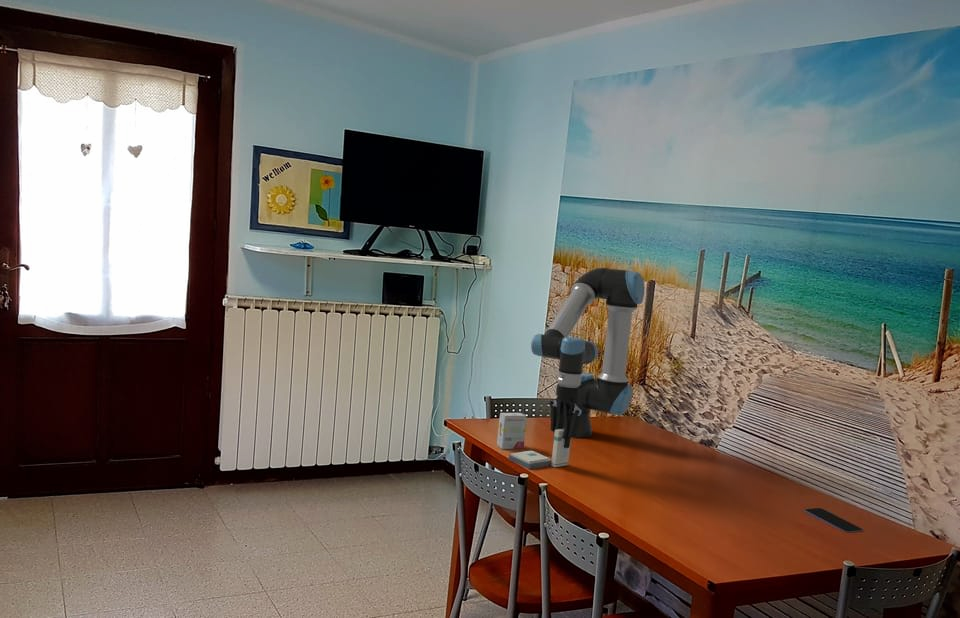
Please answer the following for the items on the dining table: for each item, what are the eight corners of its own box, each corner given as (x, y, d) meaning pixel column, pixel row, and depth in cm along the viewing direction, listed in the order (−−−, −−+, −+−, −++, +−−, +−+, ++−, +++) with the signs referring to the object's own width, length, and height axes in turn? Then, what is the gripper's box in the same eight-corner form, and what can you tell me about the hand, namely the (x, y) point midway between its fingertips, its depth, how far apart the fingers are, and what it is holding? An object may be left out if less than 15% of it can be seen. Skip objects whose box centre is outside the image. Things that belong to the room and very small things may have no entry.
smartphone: (846, 532, 196) (803, 509, 209) (845, 535, 196) (802, 512, 209) (864, 529, 199) (820, 507, 212) (864, 533, 199) (820, 511, 212)
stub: (564, 463, 233) (568, 427, 232) (568, 465, 231) (572, 429, 230) (550, 465, 229) (554, 429, 228) (554, 467, 228) (558, 431, 226)
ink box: (518, 444, 250) (521, 412, 249) (524, 448, 245) (527, 415, 244) (496, 445, 247) (499, 412, 246) (501, 449, 242) (505, 415, 241)
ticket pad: (531, 456, 238) (531, 449, 237) (551, 465, 230) (552, 458, 230) (508, 459, 231) (509, 453, 231) (529, 469, 224) (529, 462, 223)
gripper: (544, 380, 231) (536, 450, 233) (577, 391, 219) (568, 464, 222) (560, 379, 236) (553, 447, 238) (593, 389, 224) (585, 461, 226)
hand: (560, 455), depth 230 cm, fingers closed on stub, 2 cm apart
